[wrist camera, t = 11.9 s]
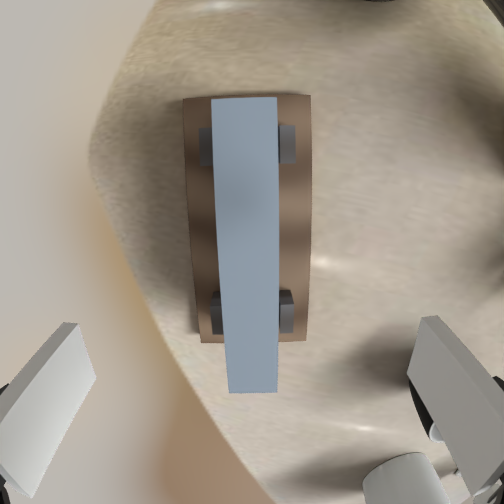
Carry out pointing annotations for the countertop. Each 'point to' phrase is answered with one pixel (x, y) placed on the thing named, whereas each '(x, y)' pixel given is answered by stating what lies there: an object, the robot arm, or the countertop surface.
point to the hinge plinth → (290, 213)
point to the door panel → (248, 238)
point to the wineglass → (483, 493)
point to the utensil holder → (404, 482)
